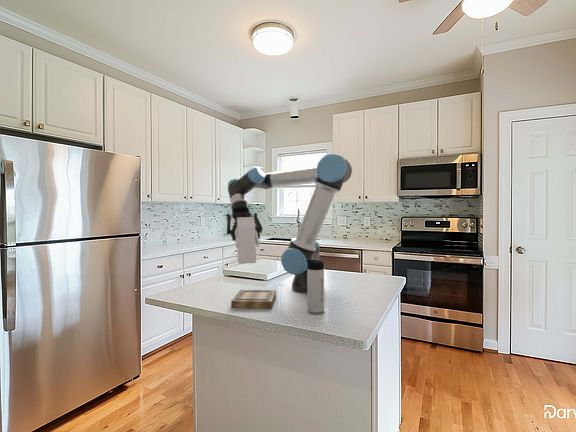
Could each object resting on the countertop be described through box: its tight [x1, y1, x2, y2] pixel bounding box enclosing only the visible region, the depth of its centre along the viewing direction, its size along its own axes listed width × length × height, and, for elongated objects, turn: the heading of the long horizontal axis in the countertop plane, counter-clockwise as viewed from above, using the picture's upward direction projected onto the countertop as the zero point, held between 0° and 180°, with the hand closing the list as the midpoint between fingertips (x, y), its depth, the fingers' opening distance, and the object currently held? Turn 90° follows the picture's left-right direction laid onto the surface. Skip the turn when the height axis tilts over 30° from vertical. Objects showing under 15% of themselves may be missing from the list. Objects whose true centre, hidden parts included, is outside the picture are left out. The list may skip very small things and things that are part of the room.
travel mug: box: [306, 260, 325, 316], centre depth 116 cm, size 6×7×20 cm
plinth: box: [230, 289, 277, 310], centre depth 129 cm, size 16×16×3 cm
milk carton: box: [236, 217, 257, 265], centre depth 129 cm, size 7×7×19 cm
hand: (247, 245), depth 126 cm, fingers closed on milk carton, 8 cm apart
